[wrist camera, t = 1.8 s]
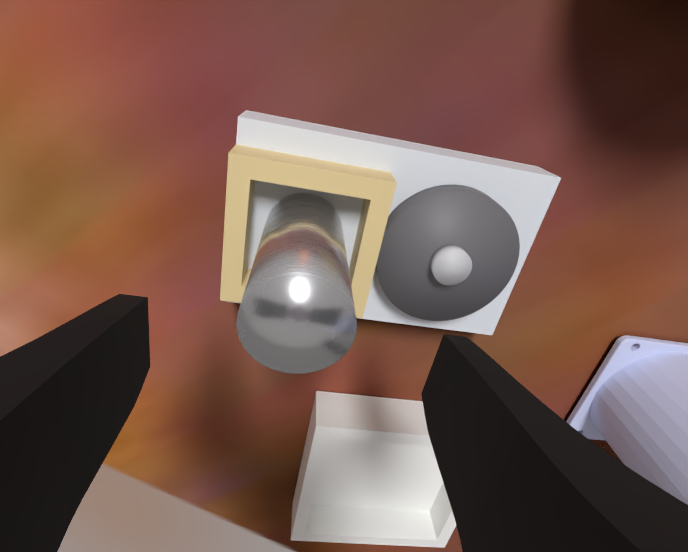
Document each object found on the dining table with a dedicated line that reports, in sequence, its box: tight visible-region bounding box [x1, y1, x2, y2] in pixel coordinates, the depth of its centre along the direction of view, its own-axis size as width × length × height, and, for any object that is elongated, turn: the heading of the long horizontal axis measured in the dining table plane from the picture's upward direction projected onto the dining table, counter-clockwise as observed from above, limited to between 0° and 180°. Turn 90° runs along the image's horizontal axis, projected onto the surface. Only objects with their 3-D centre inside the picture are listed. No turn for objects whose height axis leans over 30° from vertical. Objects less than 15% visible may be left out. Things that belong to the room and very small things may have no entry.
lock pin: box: [237, 193, 357, 374], centre depth 14 cm, size 3×3×7 cm
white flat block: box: [220, 110, 561, 335], centre depth 18 cm, size 13×8×4 cm, turn 79°
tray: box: [291, 391, 456, 548], centre depth 26 cm, size 11×11×3 cm
